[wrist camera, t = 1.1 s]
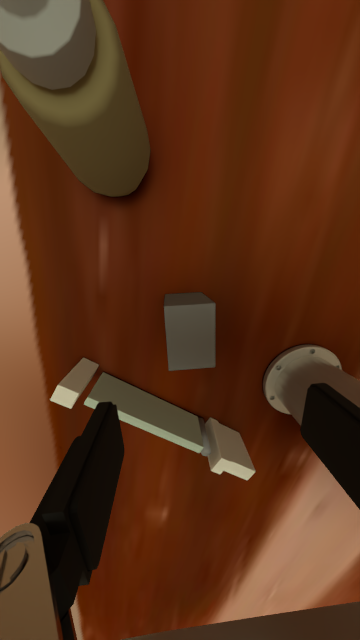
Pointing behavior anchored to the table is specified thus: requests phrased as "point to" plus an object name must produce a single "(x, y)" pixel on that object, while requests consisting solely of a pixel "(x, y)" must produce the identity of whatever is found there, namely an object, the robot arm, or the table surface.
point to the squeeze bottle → (77, 88)
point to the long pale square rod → (151, 413)
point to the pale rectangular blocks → (222, 440)
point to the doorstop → (190, 331)
